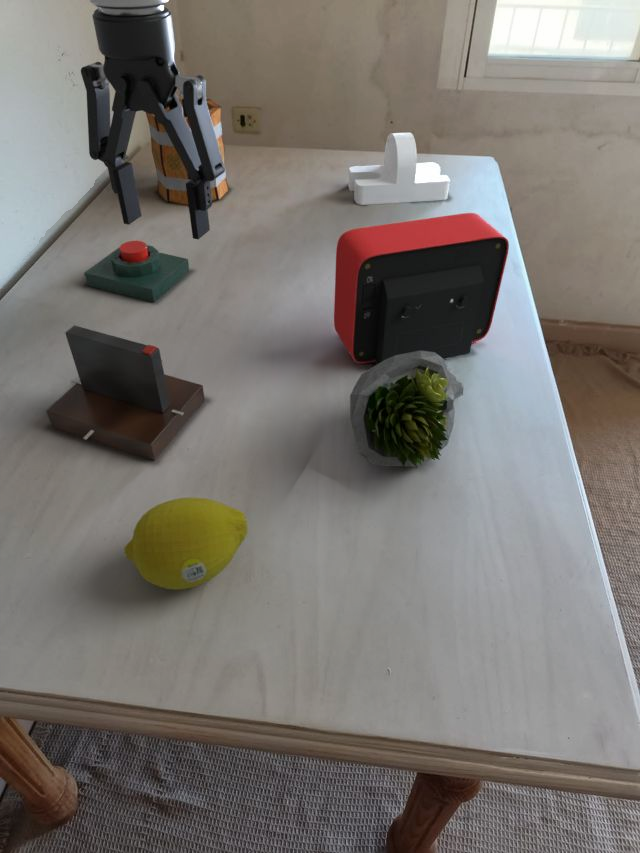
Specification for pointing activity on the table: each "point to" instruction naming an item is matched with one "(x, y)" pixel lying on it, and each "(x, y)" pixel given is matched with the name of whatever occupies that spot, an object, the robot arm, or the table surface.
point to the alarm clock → (417, 286)
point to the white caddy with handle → (398, 176)
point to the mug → (170, 164)
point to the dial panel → (126, 417)
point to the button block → (138, 274)
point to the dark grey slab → (119, 368)
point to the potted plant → (404, 409)
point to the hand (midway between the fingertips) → (166, 226)
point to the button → (134, 251)
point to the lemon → (186, 542)
